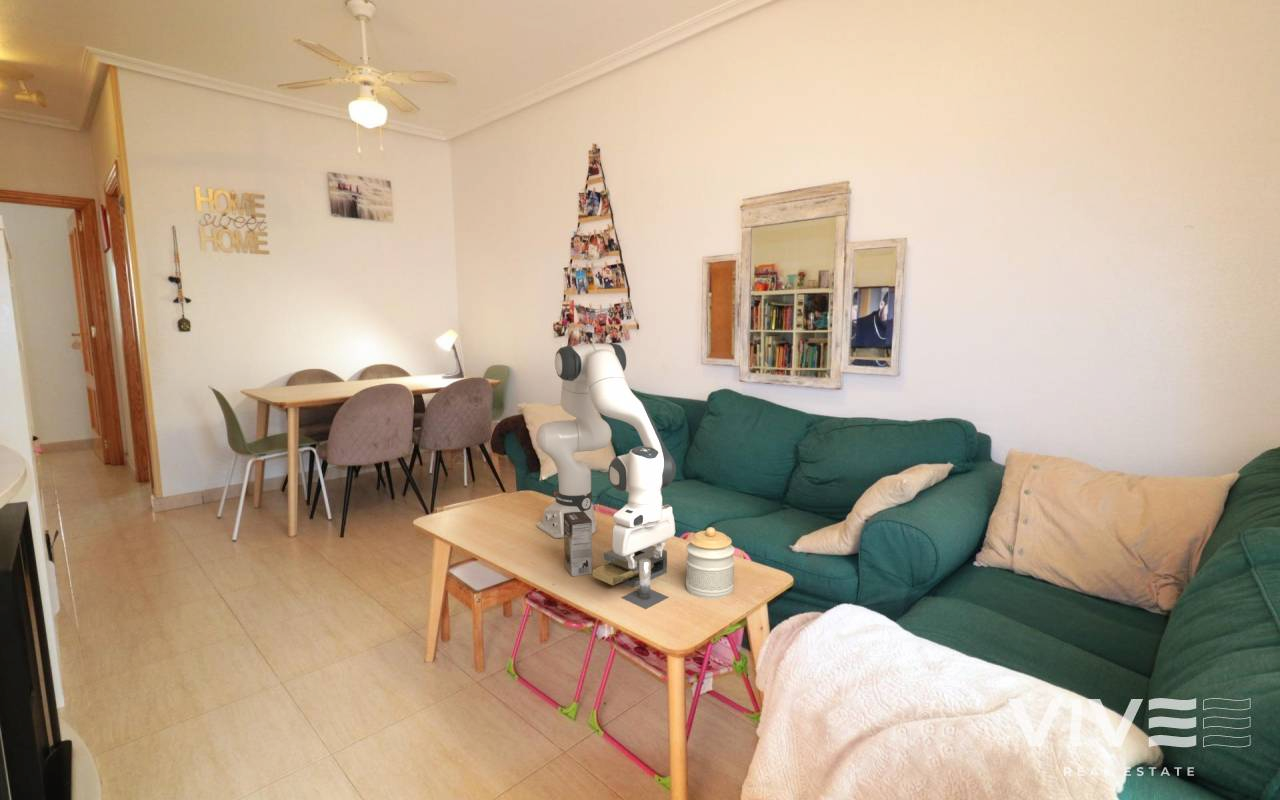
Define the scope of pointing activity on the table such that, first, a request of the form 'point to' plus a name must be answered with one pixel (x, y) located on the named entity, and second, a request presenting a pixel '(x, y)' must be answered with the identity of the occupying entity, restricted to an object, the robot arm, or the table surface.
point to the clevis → (621, 571)
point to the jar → (710, 565)
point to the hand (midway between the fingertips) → (645, 562)
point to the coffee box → (578, 543)
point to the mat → (645, 604)
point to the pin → (644, 579)
